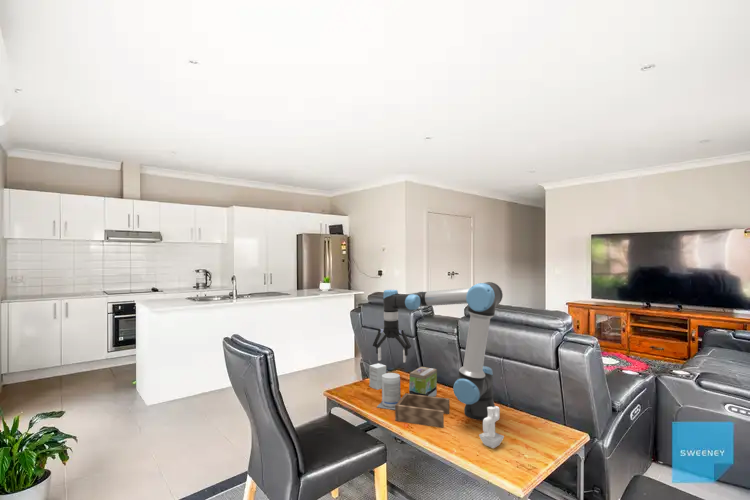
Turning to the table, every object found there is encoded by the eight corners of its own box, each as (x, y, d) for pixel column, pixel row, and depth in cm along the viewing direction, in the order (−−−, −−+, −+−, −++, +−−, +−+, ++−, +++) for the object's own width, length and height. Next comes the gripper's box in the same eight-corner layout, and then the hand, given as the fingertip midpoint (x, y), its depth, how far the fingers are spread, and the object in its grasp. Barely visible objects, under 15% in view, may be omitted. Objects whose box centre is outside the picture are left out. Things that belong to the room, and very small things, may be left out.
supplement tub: (404, 405, 195) (404, 376, 196) (389, 409, 190) (389, 379, 190) (393, 399, 204) (392, 371, 204) (378, 402, 198) (378, 374, 199)
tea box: (426, 404, 197) (425, 375, 198) (408, 400, 203) (408, 372, 203) (437, 395, 210) (437, 368, 210) (420, 392, 215) (420, 365, 216)
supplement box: (378, 384, 229) (378, 362, 229) (386, 387, 223) (386, 365, 224) (369, 386, 224) (369, 365, 225) (377, 390, 219) (377, 367, 219)
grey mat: (406, 402, 200) (406, 401, 200) (399, 410, 189) (399, 410, 189) (384, 399, 205) (384, 398, 205) (376, 407, 193) (376, 406, 193)
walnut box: (449, 413, 186) (449, 398, 186) (443, 427, 170) (442, 412, 170) (405, 407, 194) (405, 393, 194) (395, 420, 178) (395, 405, 178)
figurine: (477, 445, 154) (476, 407, 155) (490, 438, 160) (490, 401, 161) (492, 452, 149) (492, 413, 149) (506, 444, 155) (505, 407, 155)
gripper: (416, 319, 197) (417, 361, 196) (371, 317, 206) (372, 357, 205) (412, 321, 190) (413, 364, 189) (366, 320, 199) (366, 361, 198)
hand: (392, 361), depth 197 cm, fingers open, 13 cm apart
